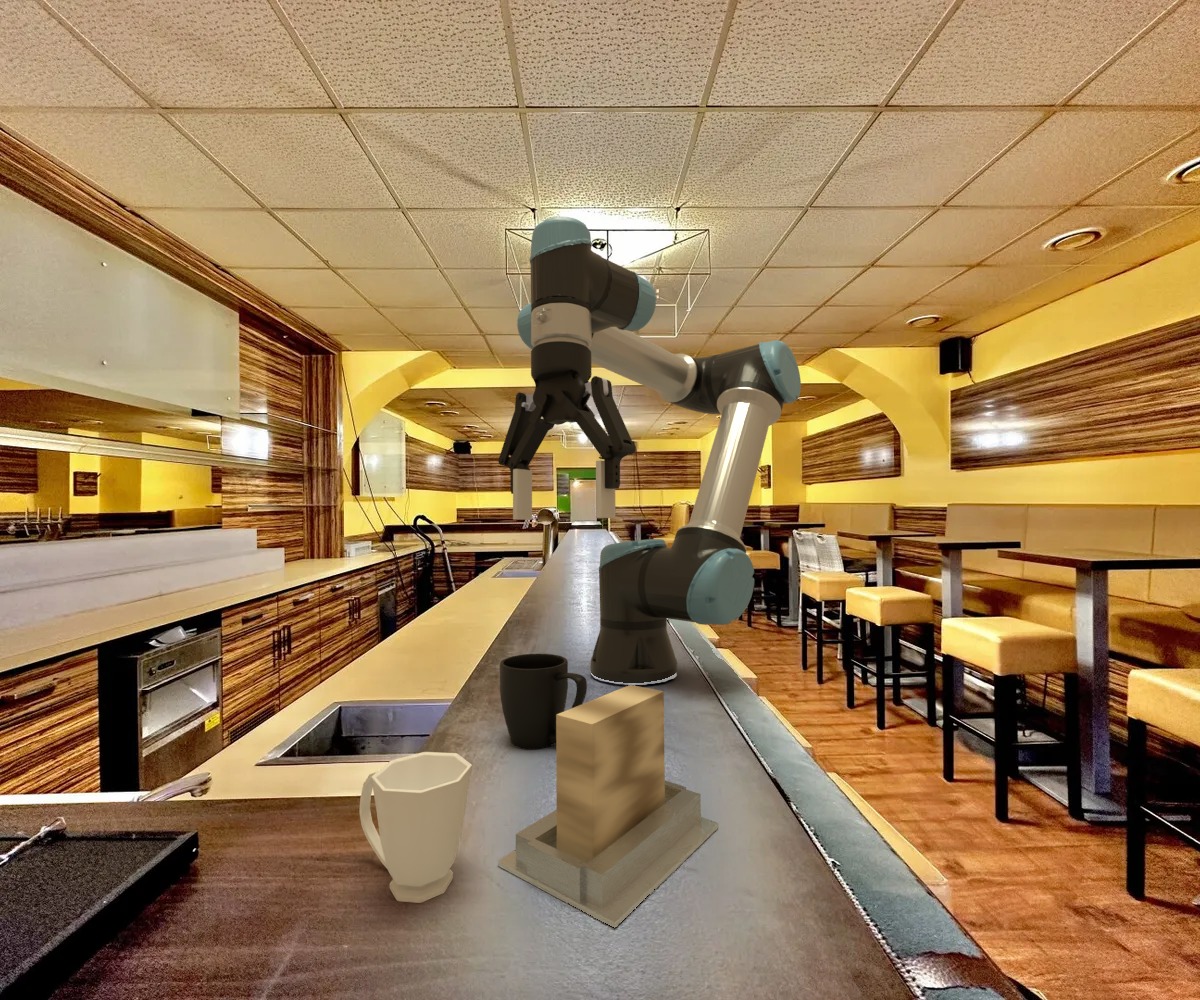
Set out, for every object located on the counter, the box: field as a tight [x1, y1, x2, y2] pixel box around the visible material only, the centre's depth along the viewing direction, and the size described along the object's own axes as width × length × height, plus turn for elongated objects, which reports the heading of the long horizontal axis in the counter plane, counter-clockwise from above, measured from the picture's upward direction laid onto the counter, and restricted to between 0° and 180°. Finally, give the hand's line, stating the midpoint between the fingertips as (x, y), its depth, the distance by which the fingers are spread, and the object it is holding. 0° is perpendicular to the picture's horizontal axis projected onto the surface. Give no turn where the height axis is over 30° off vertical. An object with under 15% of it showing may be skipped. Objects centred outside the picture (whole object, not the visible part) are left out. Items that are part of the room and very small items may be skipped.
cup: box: [358, 751, 473, 904], centre depth 41 cm, size 7×10×8 cm
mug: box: [499, 653, 588, 750], centre depth 66 cm, size 8×12×10 cm
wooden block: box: [555, 685, 666, 863], centre depth 45 cm, size 10×4×11 cm, turn 142°
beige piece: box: [497, 780, 719, 929], centre depth 45 cm, size 15×11×3 cm
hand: (561, 519), depth 68 cm, fingers open, 13 cm apart
